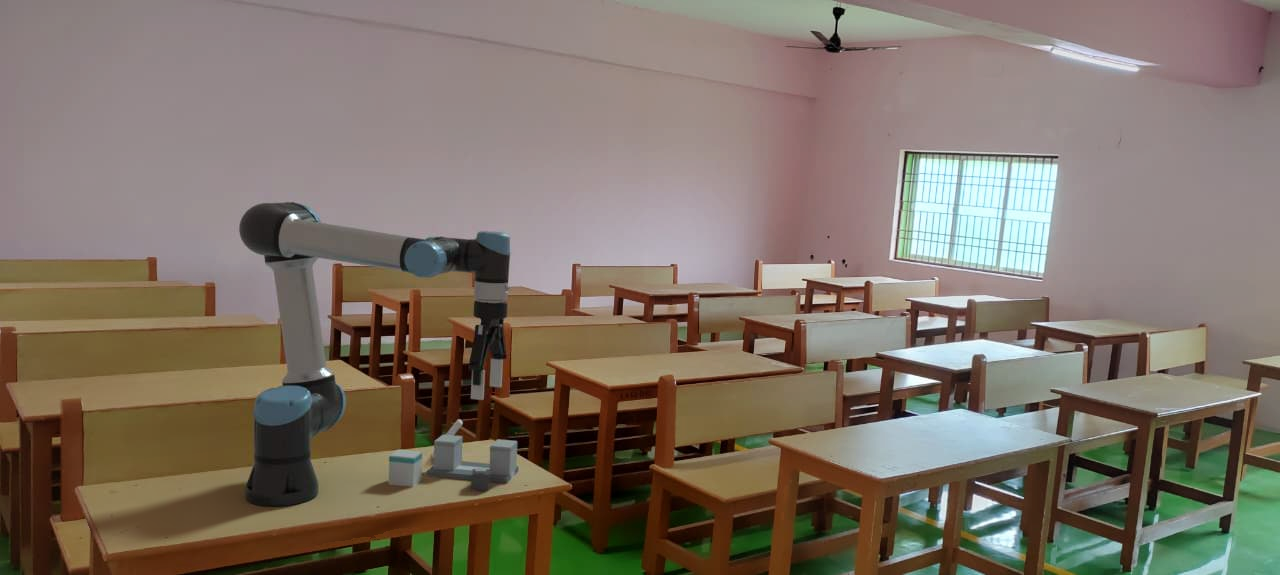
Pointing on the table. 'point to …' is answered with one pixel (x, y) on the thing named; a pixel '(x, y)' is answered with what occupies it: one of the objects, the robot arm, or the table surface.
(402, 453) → the block
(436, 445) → the rail board
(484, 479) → the block
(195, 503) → the table surface
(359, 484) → the table surface
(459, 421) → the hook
